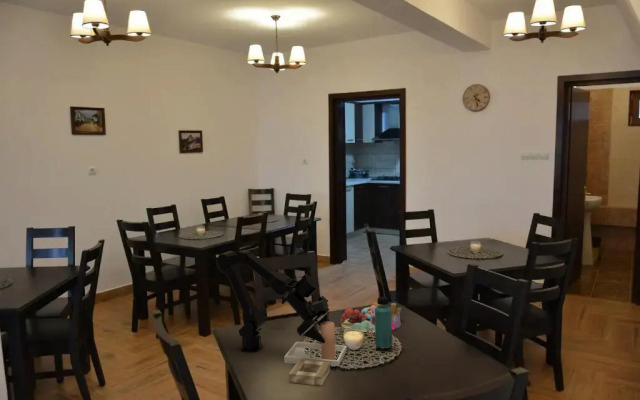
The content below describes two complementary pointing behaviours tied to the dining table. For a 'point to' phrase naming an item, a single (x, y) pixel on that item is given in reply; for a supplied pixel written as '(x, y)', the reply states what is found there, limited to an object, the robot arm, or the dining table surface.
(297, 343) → the tray
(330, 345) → the dowel
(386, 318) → the beverage bottle
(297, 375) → the holder
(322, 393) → the dining table surface
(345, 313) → the candy landscape model
